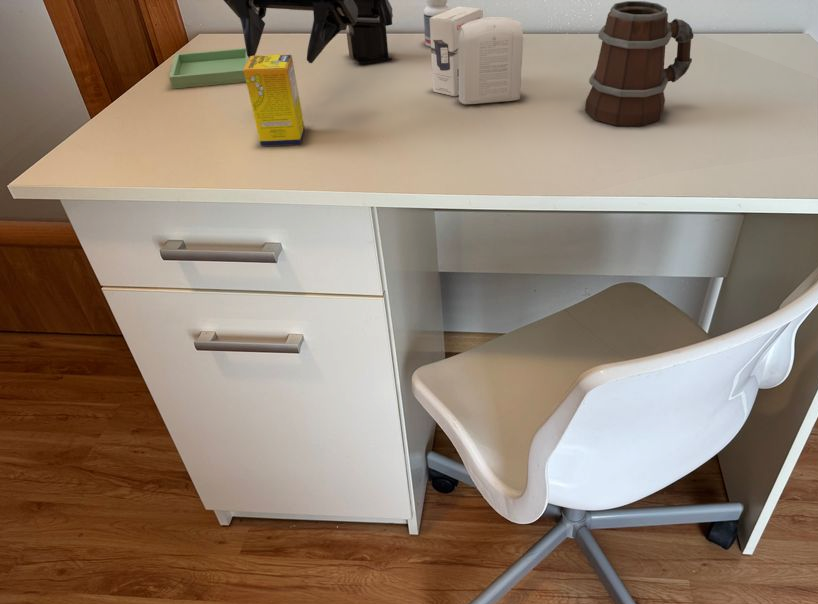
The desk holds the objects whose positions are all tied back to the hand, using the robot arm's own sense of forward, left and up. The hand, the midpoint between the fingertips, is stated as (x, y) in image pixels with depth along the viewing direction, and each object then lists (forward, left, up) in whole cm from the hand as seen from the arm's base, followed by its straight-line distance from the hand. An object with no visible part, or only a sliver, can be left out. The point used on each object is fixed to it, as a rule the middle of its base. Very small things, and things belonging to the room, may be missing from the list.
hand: (279, 59), depth 95 cm
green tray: (+6, -33, -10) cm, 35 cm away
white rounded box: (-32, +3, -10) cm, 34 cm away
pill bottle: (-37, -29, -10) cm, 48 cm away
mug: (-50, +18, -10) cm, 54 cm away
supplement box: (+2, +3, -10) cm, 11 cm away
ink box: (-30, -5, -10) cm, 32 cm away
